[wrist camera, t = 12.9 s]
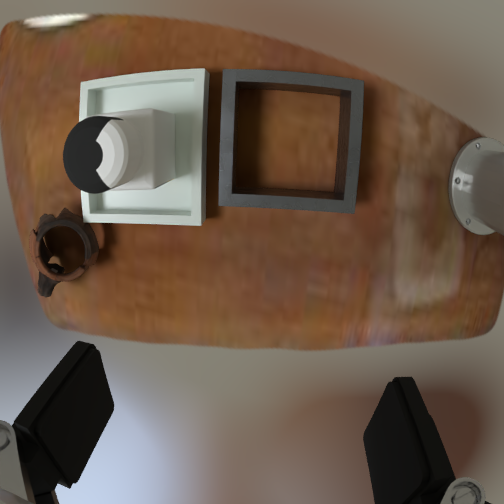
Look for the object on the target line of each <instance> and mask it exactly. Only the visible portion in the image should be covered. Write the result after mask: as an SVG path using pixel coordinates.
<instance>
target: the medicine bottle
mask: <svg viewBox="0 0 504 504" xmlns="http://www.w3.org/2000/svg"><path fill="white" fill-rule="evenodd" d="M63 162H64V167H65V170H66V173H67V175H68V177H69V179H70V180H71V182H72V183H73V184H74V185H75V186H76V187H77V188H79V189H80V190H82V191H84V192H87V193H92V194H98V193H103V192H105V191H118V190H153V189H155V188H157V187H159V186H161V185H163V184H165V183H167V182H169V181H171V180H173V179H174V178H175V114H174V113H170V112H166V111H162V110H158V109H153V108H148V109H137V110H128V111H120V112H112V113H105V114H98V115H91V116H87V117H85V118H84V120H82V121H80V122H79V123H78V124H77V125H76V126H75V127H74V128H73V129H72V130H71V132H70V133H69V135H68V137H67V139H66V142H65V146H64V151H63Z"/></svg>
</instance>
